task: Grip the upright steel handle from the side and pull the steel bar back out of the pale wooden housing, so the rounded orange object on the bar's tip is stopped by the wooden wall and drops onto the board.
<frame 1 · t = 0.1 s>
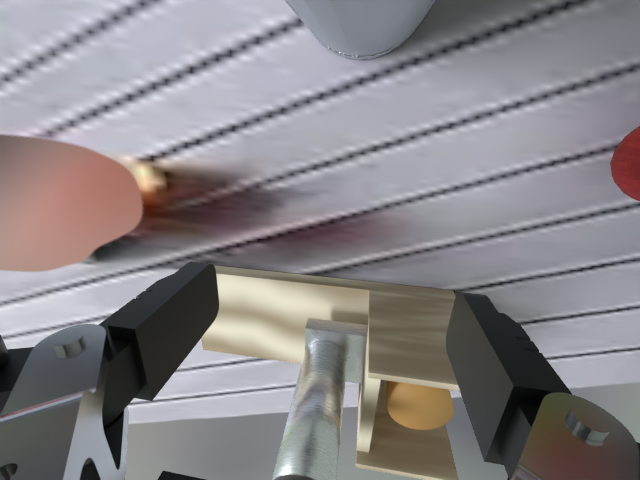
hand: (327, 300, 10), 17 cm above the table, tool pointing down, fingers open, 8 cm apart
rounded orange object: (413, 367, 27), point 5 cm above the table, touching shaft
frame: (341, 321, 32), on the table
onion: (628, 149, 22), on the table
shaft: (373, 432, 21), point 11 cm above the table, slide at 0.0 cm, touching rounded orange object
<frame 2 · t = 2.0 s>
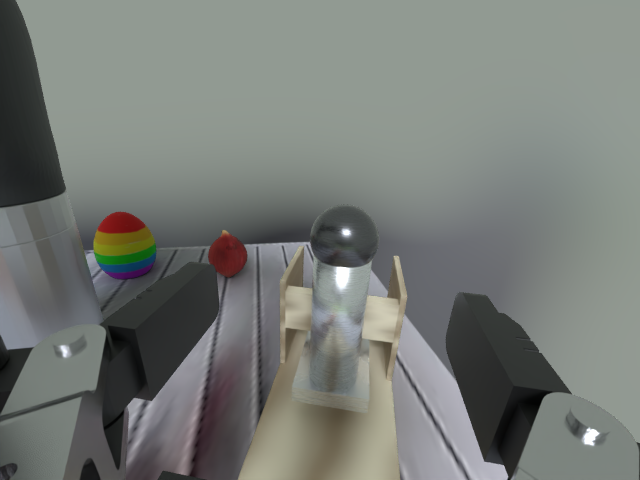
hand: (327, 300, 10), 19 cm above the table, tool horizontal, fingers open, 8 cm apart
frame: (330, 404, 27), on the table
onion: (229, 277, 48), on the table
shaft: (343, 279, 26), point 11 cm above the table, slide at 0.0 cm, touching rounded orange object
decorative egg: (131, 272, 48), on the table
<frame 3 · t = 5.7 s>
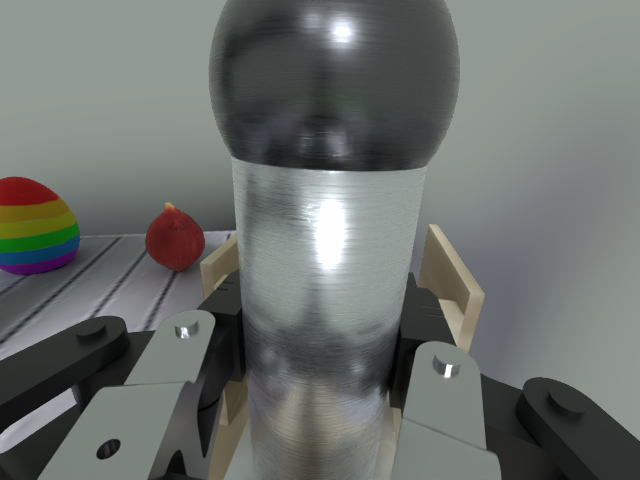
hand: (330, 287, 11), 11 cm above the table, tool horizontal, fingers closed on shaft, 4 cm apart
onion: (180, 272, 34), on the table
shaft: (336, 259, 12), point 11 cm above the table, slide at 0.0 cm, touching gripper, rounded orange object
decorative egg: (42, 265, 34), on the table
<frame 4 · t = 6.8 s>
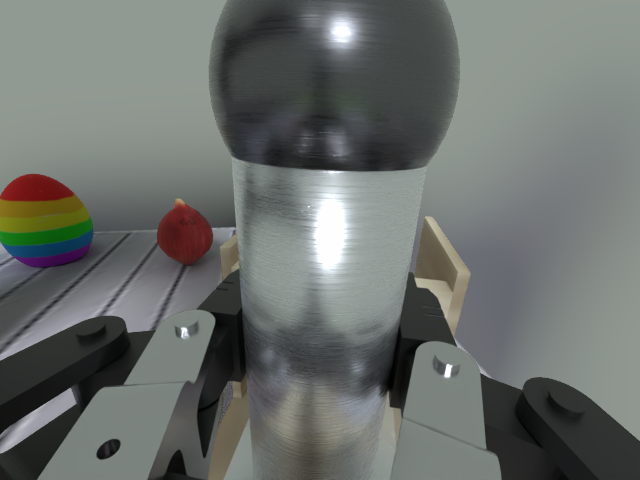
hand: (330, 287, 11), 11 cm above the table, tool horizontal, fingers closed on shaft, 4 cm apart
onion: (189, 265, 36), on the table
shaft: (336, 259, 12), point 11 cm above the table, slide at -1.7 cm, touching gripper, rounded orange object
decorative egg: (58, 259, 36), on the table
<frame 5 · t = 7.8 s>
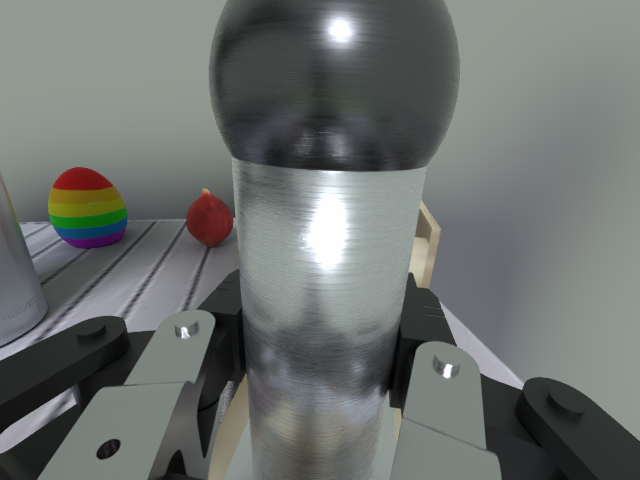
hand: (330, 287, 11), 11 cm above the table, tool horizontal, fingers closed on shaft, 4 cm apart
frame: (332, 388, 20), on the table
onion: (212, 247, 41), on the table
shaft: (336, 259, 12), point 11 cm above the table, slide at -7.3 cm, touching gripper
decorative egg: (97, 242, 41), on the table
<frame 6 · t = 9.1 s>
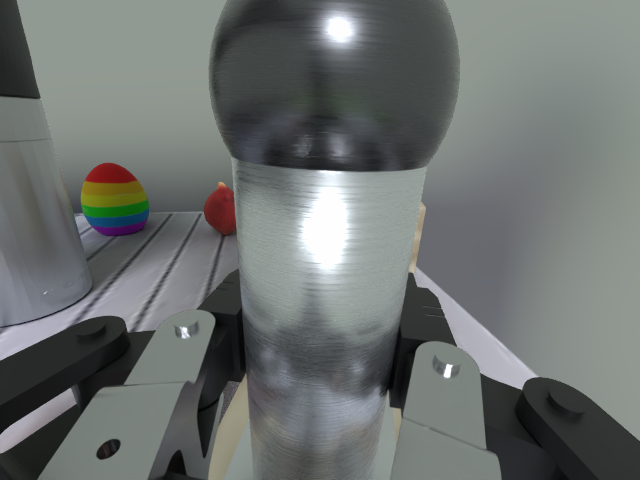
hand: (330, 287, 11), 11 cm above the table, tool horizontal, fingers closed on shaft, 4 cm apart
frame: (338, 340, 24), on the table
onion: (227, 236, 45), on the table
shaft: (336, 259, 12), point 11 cm above the table, slide at -12.0 cm, touching gripper
decorative egg: (122, 231, 45), on the table
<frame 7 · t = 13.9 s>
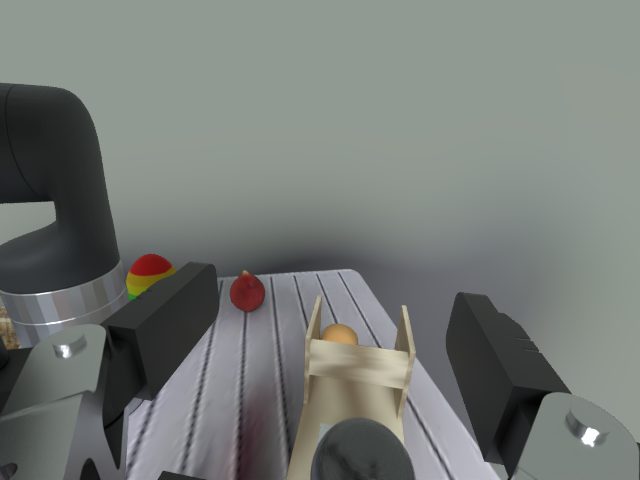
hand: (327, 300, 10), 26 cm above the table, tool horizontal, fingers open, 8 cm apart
rounded orange object: (335, 360, 37), point 4 cm above the table, tilted 90°, touching frame
frame: (349, 442, 31), on the table
onion: (248, 311, 52), on the table
shaft: (355, 457, 19), point 11 cm above the table, slide at -12.0 cm
seashell: (20, 358, 40), on the table
decorative egg: (158, 307, 52), on the table
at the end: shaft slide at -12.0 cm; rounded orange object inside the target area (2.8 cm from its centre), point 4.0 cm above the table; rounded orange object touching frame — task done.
